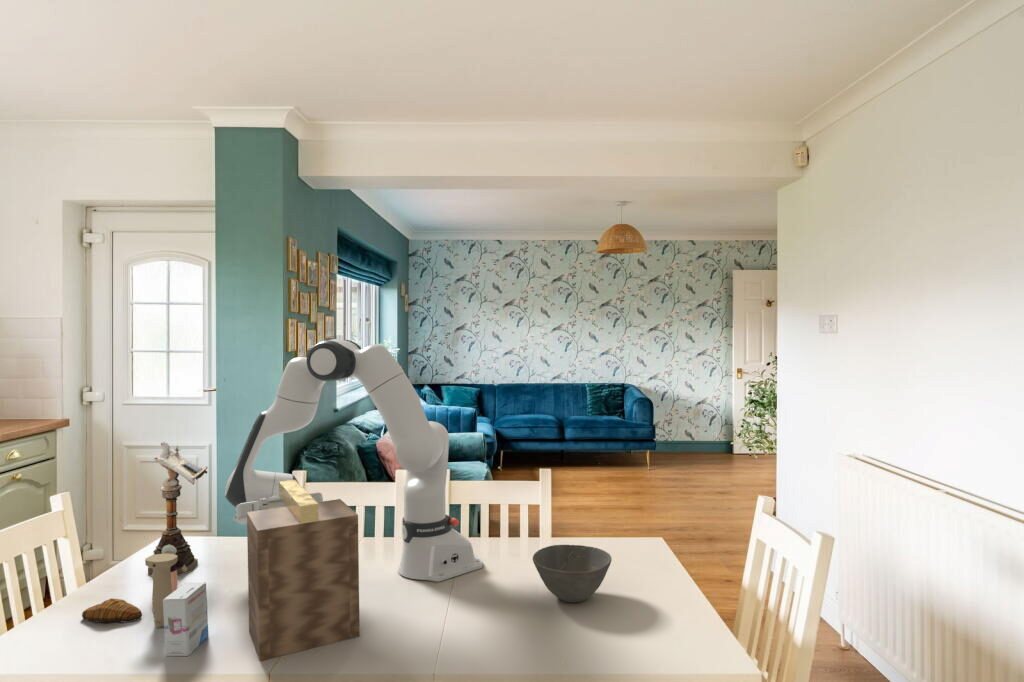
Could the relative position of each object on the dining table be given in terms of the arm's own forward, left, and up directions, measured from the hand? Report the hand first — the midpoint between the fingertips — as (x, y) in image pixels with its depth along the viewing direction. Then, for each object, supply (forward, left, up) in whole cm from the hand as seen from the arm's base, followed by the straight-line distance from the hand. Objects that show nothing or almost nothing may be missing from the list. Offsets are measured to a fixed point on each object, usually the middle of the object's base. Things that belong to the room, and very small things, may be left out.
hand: (284, 498), depth 155 cm
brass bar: (0, +15, +1) cm, 15 cm away
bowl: (-60, +33, -25) cm, 73 cm away
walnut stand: (0, +19, -25) cm, 31 cm away
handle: (+26, -1, -25) cm, 36 cm away
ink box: (+22, +12, -25) cm, 35 cm away
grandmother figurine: (+24, -17, -25) cm, 38 cm away
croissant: (+36, -10, -25) cm, 45 cm away
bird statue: (+20, -36, -25) cm, 48 cm away
